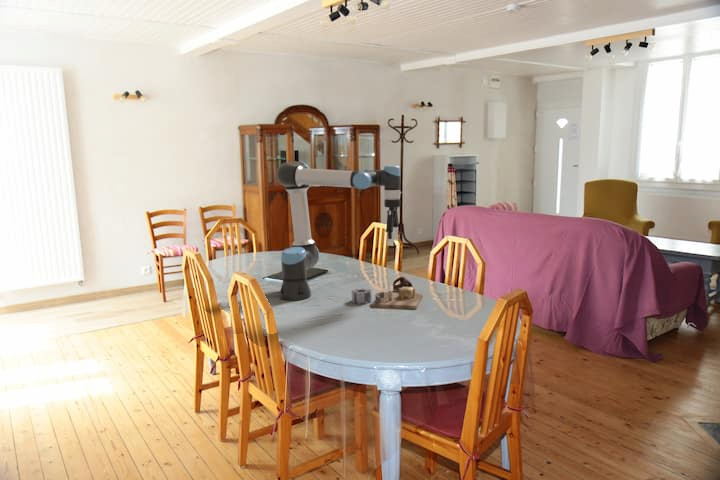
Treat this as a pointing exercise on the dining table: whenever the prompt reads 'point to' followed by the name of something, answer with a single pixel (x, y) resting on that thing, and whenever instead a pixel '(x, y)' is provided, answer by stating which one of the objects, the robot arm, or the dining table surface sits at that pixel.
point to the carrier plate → (398, 299)
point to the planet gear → (361, 296)
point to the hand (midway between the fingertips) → (392, 243)
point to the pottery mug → (401, 283)
